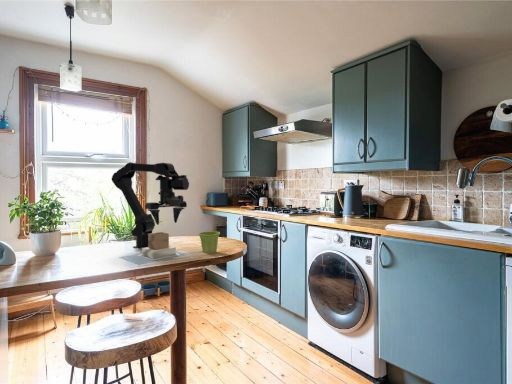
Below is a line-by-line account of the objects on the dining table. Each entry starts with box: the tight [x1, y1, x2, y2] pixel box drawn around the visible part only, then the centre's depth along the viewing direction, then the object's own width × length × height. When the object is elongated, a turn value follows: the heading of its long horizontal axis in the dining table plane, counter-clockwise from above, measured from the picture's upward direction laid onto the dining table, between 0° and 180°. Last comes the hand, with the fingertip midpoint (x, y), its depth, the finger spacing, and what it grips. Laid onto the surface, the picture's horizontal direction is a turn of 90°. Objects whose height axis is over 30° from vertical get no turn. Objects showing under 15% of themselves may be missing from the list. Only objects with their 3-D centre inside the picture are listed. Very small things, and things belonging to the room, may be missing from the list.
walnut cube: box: [148, 231, 170, 250], centre depth 130 cm, size 6×6×6 cm
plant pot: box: [198, 230, 221, 254], centre depth 137 cm, size 9×9×9 cm
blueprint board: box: [118, 250, 189, 265], centre depth 129 cm, size 17×22×1 cm
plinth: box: [141, 245, 177, 259], centre depth 130 cm, size 10×10×3 cm
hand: (166, 223), depth 144 cm, fingers open, 9 cm apart
